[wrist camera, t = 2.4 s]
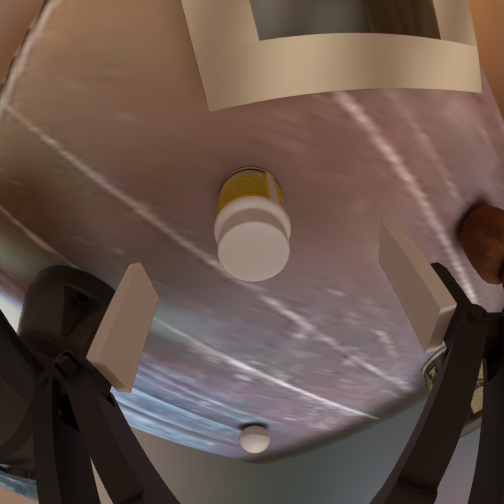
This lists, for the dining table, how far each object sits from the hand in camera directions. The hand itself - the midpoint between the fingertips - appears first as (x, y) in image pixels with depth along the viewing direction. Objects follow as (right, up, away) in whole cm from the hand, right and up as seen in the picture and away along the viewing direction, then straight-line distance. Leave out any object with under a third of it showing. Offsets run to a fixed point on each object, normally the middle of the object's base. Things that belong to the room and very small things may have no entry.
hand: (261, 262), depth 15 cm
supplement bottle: (-1, +5, +8) cm, 9 cm away
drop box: (+2, +18, -1) cm, 18 cm away
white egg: (-1, -31, +32) cm, 45 cm away
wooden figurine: (+23, +4, +9) cm, 25 cm away
